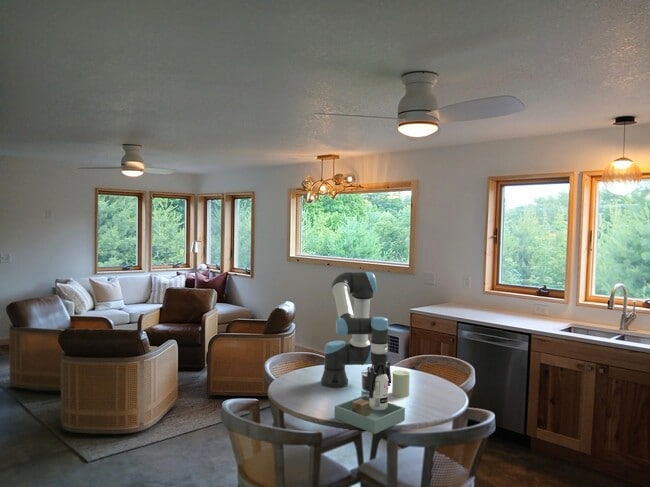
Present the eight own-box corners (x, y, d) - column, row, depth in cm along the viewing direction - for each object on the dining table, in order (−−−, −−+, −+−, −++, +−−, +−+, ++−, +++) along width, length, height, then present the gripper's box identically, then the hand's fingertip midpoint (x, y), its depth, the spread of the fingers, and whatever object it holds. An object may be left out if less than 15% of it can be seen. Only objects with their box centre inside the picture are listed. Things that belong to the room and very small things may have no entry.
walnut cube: (352, 414, 222) (352, 401, 222) (360, 411, 226) (360, 398, 226) (362, 418, 218) (362, 405, 218) (370, 414, 222) (370, 402, 222)
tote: (334, 418, 219) (334, 406, 219) (364, 406, 235) (365, 394, 234) (374, 434, 203) (375, 421, 203) (404, 420, 218) (404, 407, 218)
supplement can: (367, 404, 219) (368, 371, 218) (385, 403, 219) (386, 371, 219) (370, 410, 210) (371, 377, 210) (389, 410, 211) (389, 376, 211)
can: (409, 397, 247) (409, 374, 247) (391, 396, 249) (391, 373, 249) (409, 392, 256) (410, 369, 256) (392, 390, 258) (392, 368, 258)
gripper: (370, 357, 204) (370, 410, 205) (400, 349, 219) (399, 398, 220) (357, 354, 209) (356, 406, 210) (386, 346, 224) (386, 394, 225)
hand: (378, 402), depth 215 cm, fingers closed on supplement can, 8 cm apart
